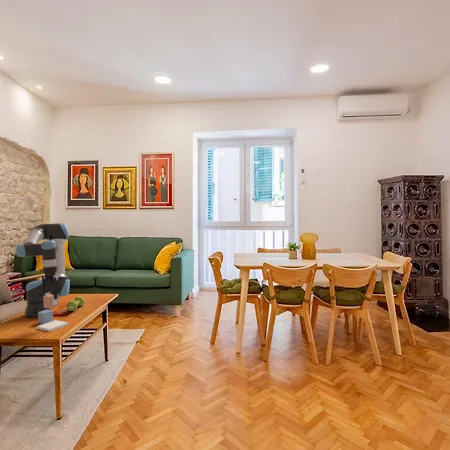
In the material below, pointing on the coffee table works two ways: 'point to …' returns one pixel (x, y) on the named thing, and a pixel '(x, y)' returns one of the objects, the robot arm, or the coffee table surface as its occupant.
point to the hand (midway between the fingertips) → (51, 303)
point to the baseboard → (52, 325)
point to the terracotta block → (49, 301)
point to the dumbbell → (75, 303)
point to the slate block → (45, 316)
